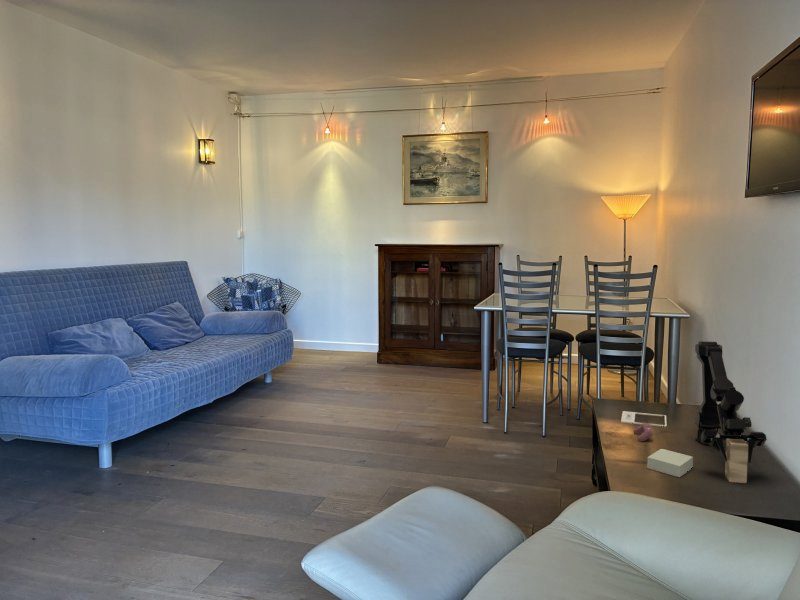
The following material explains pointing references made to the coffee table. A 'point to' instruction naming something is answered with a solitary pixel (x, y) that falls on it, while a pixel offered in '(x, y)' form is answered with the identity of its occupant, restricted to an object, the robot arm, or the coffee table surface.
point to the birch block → (736, 460)
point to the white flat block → (670, 462)
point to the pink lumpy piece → (644, 431)
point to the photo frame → (630, 418)
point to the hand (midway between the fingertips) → (737, 461)
